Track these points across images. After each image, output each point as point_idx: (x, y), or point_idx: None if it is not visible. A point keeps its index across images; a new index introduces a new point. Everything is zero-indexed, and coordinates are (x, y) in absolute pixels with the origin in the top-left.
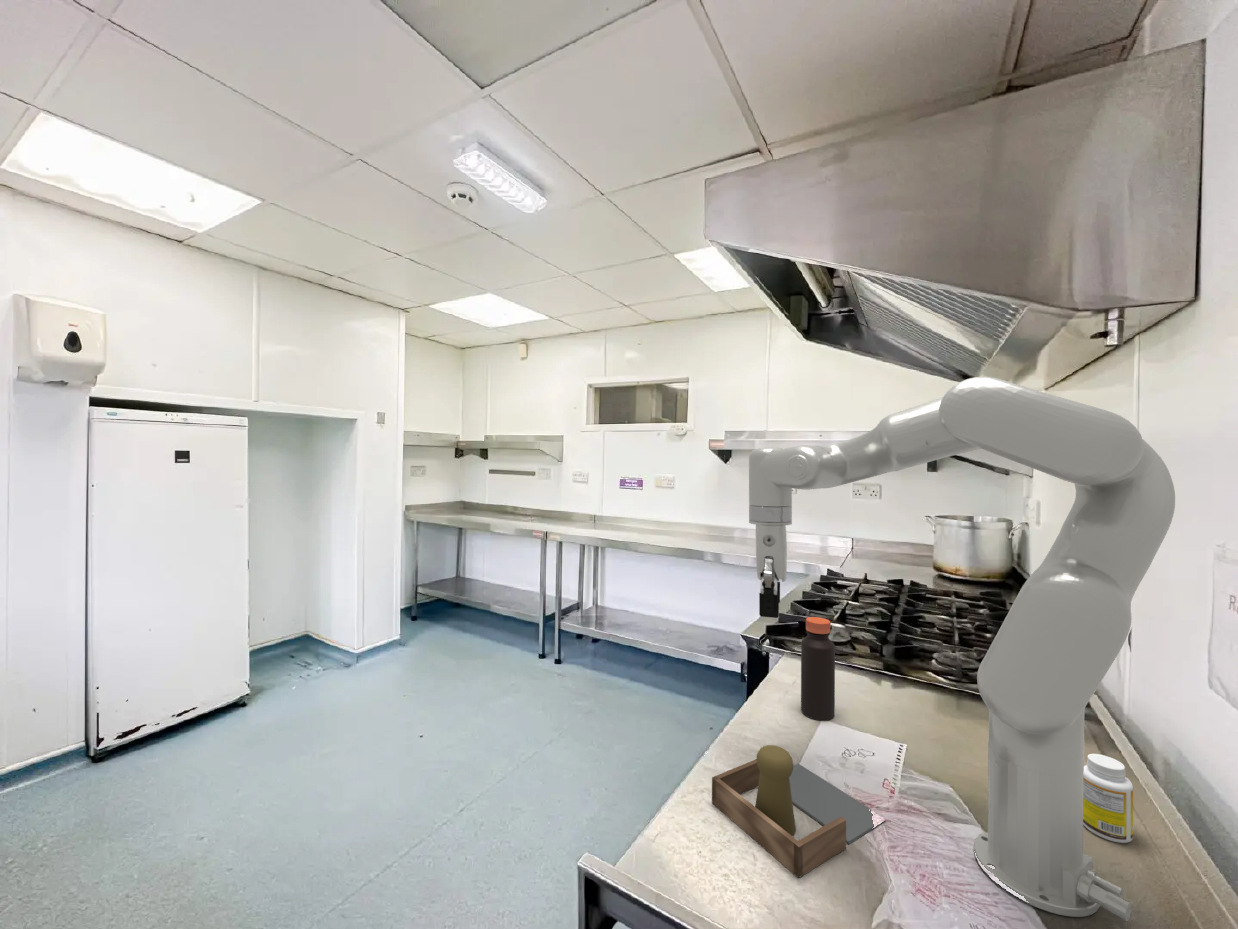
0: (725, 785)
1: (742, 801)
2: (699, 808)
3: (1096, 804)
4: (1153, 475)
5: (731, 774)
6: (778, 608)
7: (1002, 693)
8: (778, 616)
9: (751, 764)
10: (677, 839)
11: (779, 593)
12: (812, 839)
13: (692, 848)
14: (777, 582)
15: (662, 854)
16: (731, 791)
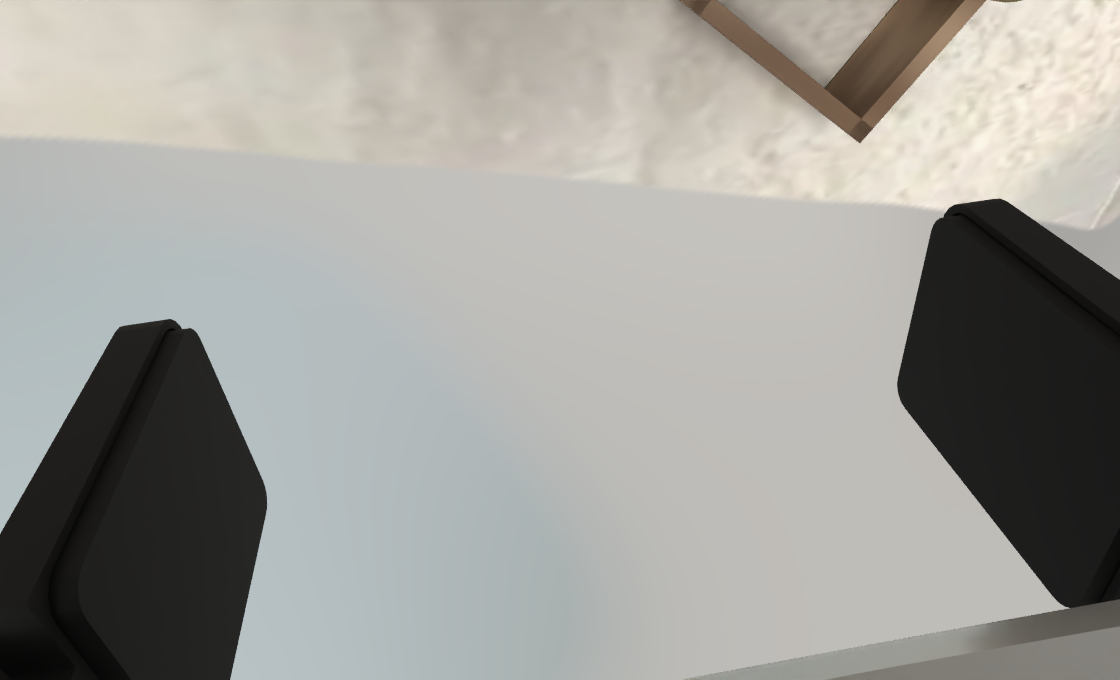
0: (896, 89)
1: (973, 12)
2: (853, 140)
3: None
4: None
5: (821, 86)
6: (1078, 255)
7: None
8: (999, 200)
9: (746, 27)
10: (984, 154)
11: (117, 422)
12: None
13: (1012, 108)
14: (54, 638)
15: (1037, 169)
16: (926, 61)
